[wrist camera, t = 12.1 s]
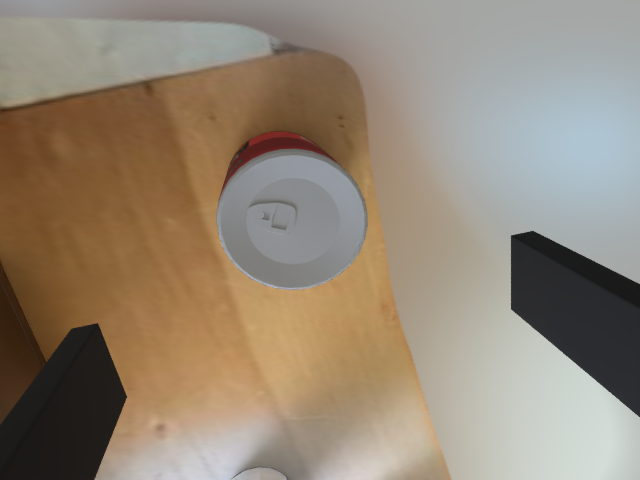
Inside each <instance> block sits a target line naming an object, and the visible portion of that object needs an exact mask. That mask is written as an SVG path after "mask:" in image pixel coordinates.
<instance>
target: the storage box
mask: <svg viewBox="0 0 640 480" xmlns="http://www.w3.org/2000/svg"><path fill="white" fill-rule="evenodd" d="M45 364H46V362H45V360H44V358H43V355H42V353H41V351H40V349H39V347H38V345H37V342H36V340H35V338H34V336H33V334H32V332H31V329H30V327H29V325H28V323H27V321H26V319H25V317H24V314H23V312H22V310H21V308H20V306H19V304H18V301H17V299H16V297H15V295H14V293H13V291H12V288H11V286H10V284H9V282H8V280H7V278H6V275H5V273H4V271H3V269H2V267H1V265H0V424H1V423H2V422H3V420H4V419H5V418H6V416H7V415H8V414H9V412H10V411H11V410H12V408H13V407H14V406H15V404H16V403H17V402H18V400H19V399H20V398H21V396H22V395H23V393H24V392H25V391H26V389H27V388H28V387H29V385H30V384H31V383H32V381H33V380H34V379H35V377H36V376H37V375H38V373H39V372H40V371H41V369H42V368H43V366H44V365H45Z"/></svg>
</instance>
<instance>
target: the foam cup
mask: <svg viewBox="0 0 640 480" xmlns="http://www.w3.org/2000/svg"><path fill="white" fill-rule="evenodd" d="M232 480H287V479H286V477H285V475H283V474H282V473H280V472H278V471H276V470H275V469H271V468H263V467H258V468H253V469H249V470H245V471H243V472H242V473H240V474H239V475H237V476H235V477H234V478H233V479H232Z"/></svg>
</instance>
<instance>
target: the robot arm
mask: <svg viewBox="0 0 640 480" xmlns="http://www.w3.org/2000/svg"><path fill="white" fill-rule="evenodd" d="M511 309H512V310H513V311H514V312H515V313H516V314H518V315H519V316H520V317H521V318H522V319H523V320H525V321H526V322H527V323H528V324H529V325H531V326H532V327H533V328H534V329H535V330H537V331H538V332H539V333H540V334H541V335H543V336H544V337H545V338H546V339H547V340H548V341H550V342H551V343H552V344H553V345H554V346H556V347H557V348H558V349H559V350H560V351H562V352H563V353H564V354H565V355H566V356H568V357H569V358H570V359H571V360H572V361H573V362H575V363H576V364H577V365H578V366H579V367H581V368H582V369H583V370H584V371H585V372H587V373H588V374H589V375H590V376H591V377H592V378H594V379H595V380H596V381H597V382H598V383H600V384H601V385H602V386H603V387H604V388H606V389H607V390H608V391H609V392H611V393H612V394H613V395H614V396H615V397H616V398H618V399H619V400H620V401H621V402H622V403H623V404H625V405H626V406H627V407H628V408H630V409H631V410H632V411H633V412H634V413H635V414H637V415H638V416H639V417H640V284H638V283H636V282H634V281H632V280H630V279H628V278H626V277H624V276H622V275H620V274H618V273H616V272H614V271H612V270H610V269H608V268H606V267H604V266H602V265H600V264H598V263H596V262H594V261H592V260H590V259H588V258H586V257H584V256H582V255H580V254H578V253H576V252H574V251H572V250H570V249H568V248H566V247H564V246H562V245H560V244H558V243H556V242H554V241H552V240H550V239H548V238H546V237H544V236H542V235H540V234H538V233H536V232H534V231H530V232H526V233H521V234H516V235H512V236H511ZM126 398H127V396H126V393H125V391H124V388H123V386H122V383H121V381H120V378H119V375H118V373H117V370H116V368H115V365H114V363H113V360H112V358H111V355H110V353H109V350H108V348H107V345H106V342H105V340H104V337H103V335H102V332H101V330H100V327H99V325H98V323H97V324H92V325H87V326H83V327H78V328H73V329H71V330H70V331H69V333H68V334H67V335H66V337H65V338H64V340H63V341H62V342H61V344H60V345H59V346H58V348H57V349H56V350H55V352H54V353H53V354H52V356H51V357H50V358H49V360H48V361H47V362H46V364H45V365H44V366H43V368H42V369H41V371H40V372H39V373H38V375H37V376H36V377H35V379H34V380H33V381H32V383H31V384H30V385H29V387H28V388H27V389H26V391H25V392H24V393H23V395H22V396H21V398H20V399H19V400H18V402H17V403H16V404H15V406H14V407H13V408H12V410H11V411H10V412H9V414H8V415H7V416H6V418H5V419H4V420H3V422H2V423H1V424H0V480H94V479H95V477H96V474H97V472H98V469H99V466H100V464H101V461H102V459H103V456H104V454H105V451H106V449H107V446H108V444H109V441H110V439H111V436H112V434H113V431H114V429H115V426H116V424H117V421H118V419H119V416H120V414H121V411H122V408H123V406H124V403H125V401H126Z"/></svg>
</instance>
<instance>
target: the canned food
mask: <svg viewBox="0 0 640 480" xmlns="http://www.w3.org/2000/svg"><path fill="white" fill-rule="evenodd" d="M217 226H218V233H219V238H220V241H221V243H222V246H223V249H224V251H225V252H226V254H227V255H228V257H229V259H230V260H231V262H232V263H233V264H234V265H235V266H236V267H237V268H238V269H239V270H240V271H241V272H242V273H244V274H245V275H247V276H248V277H249V278H251V279H252V280H255V281H257V282H259V283H261V284H263V285H266V286H270V287H273V288H277V289H287V290H297V289H307V288H311V287H315V286H318V285H321V284H323V283H325V282H327V281H330V280H332V279H333V278H335V277H336V276H338V275H339V274H340V273H342V272H343V271H344V270H345V269H346V268H347V267H348V266H349V265H350V264H351V263H352V262H353V261H354V259H355V258H356V256H357V255H358V253H359V252H360V250H361V247H362V245H363V242H364V240H365V236H366V231H367V209H366V205H365V200H364V198H363V196H362V194H361V191H360V189H359V187H358V185H357V184H356V182H355V181H354V179H353V178H352V177H351V175H350V174H349V173H348V172H347V171H346V170H345V169H344V168H343V167H342V166H341V165H340V164H339V163H337V162H336V161H335V160H334V159H333V158H332V157H330V156H329V155H328V154H327V153H326V152H324V151H323V150H322V149H321V148H319V147H318V146H317V145H316V144H315V143H313V142H312V141H310V140H308V139H307V138H305V137H303V136H300V135H297V134H295V133H289V132H283V131H282V132H269V133H265V134H261V135H259V136H257V137H254V138H252V139H250V140H249V141H248V142H246V143H245V144H244V145H242V147H241V148H240V149H239V150H238V151H237V152H236V153H235V155H234V157H233V159H232V160H231V162H230V165H229V168H228V172H227V175H226V178H225V181H224V185H223V188H222V191H221V195H220V198H219V203H218V209H217Z"/></svg>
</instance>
